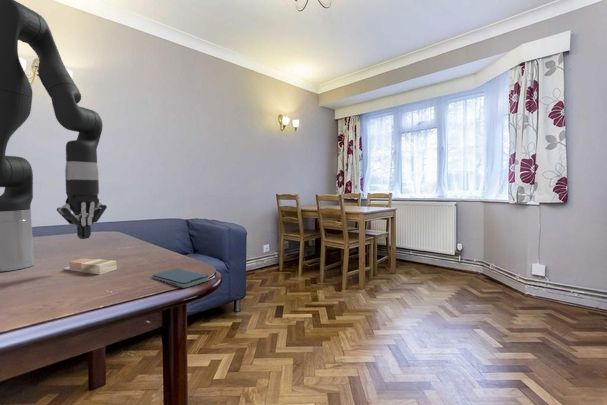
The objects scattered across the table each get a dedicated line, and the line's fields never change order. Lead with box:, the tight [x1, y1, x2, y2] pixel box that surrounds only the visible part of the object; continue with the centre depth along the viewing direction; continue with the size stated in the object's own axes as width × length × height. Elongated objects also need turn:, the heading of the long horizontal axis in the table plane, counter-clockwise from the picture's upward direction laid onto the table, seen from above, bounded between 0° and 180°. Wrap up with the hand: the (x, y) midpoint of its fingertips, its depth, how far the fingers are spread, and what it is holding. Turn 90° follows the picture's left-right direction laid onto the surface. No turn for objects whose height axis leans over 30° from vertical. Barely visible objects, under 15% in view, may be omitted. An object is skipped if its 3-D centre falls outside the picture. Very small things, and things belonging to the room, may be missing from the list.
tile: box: [69, 258, 95, 270], centre depth 86 cm, size 5×4×2 cm
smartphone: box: [152, 268, 210, 289], centre depth 76 cm, size 8×2×15 cm
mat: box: [63, 266, 83, 273], centre depth 86 cm, size 8×4×1 cm, turn 72°
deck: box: [81, 258, 118, 275], centre depth 84 cm, size 7×5×2 cm
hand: (84, 238), depth 85 cm, fingers closed
